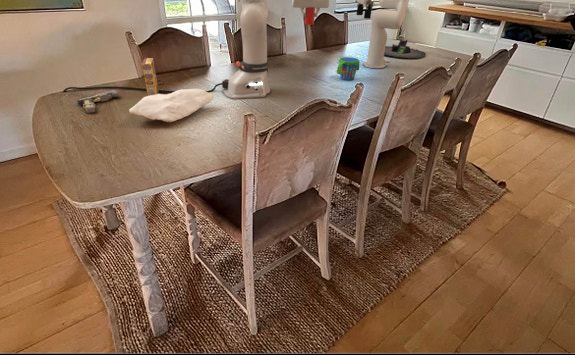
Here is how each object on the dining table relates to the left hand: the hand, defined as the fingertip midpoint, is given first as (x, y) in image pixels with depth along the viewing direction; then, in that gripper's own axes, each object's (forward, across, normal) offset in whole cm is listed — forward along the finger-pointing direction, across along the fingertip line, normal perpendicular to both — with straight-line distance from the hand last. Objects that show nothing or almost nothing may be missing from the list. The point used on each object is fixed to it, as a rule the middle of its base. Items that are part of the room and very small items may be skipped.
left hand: (309, 16), depth 198 cm
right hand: (-4, -21, +25) cm, 32 cm away
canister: (+4, 0, 0) cm, 4 cm away
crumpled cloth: (+28, +73, +60) cm, 99 cm away
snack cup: (+28, -17, +23) cm, 40 cm away
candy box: (+28, +82, +37) cm, 94 cm away
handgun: (+28, +103, +46) cm, 116 cm away
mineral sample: (+27, -75, -30) cm, 85 cm away
